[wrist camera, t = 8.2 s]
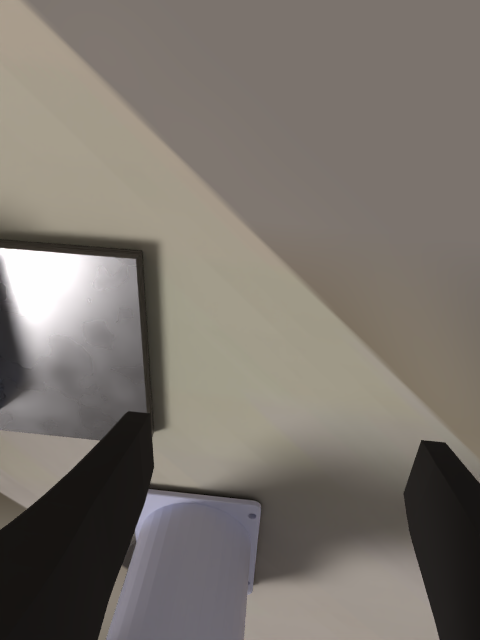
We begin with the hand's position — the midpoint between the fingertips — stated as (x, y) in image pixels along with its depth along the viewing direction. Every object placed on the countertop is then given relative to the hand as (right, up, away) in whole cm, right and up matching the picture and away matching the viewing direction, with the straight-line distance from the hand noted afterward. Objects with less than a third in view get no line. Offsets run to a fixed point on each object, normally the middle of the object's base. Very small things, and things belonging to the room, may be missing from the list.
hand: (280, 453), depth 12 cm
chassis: (-13, +3, +11) cm, 18 cm away
